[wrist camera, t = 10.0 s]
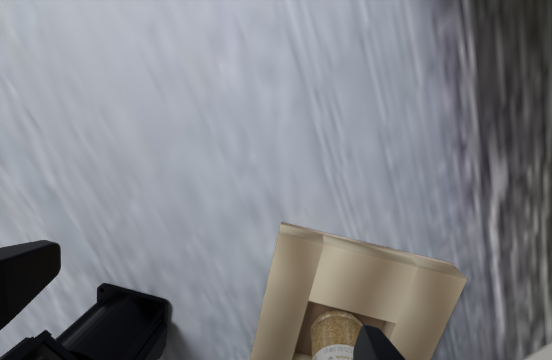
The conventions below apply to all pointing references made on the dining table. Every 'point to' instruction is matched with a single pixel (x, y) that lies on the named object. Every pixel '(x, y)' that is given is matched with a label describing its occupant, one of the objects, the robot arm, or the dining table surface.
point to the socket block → (352, 293)
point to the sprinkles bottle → (334, 335)
